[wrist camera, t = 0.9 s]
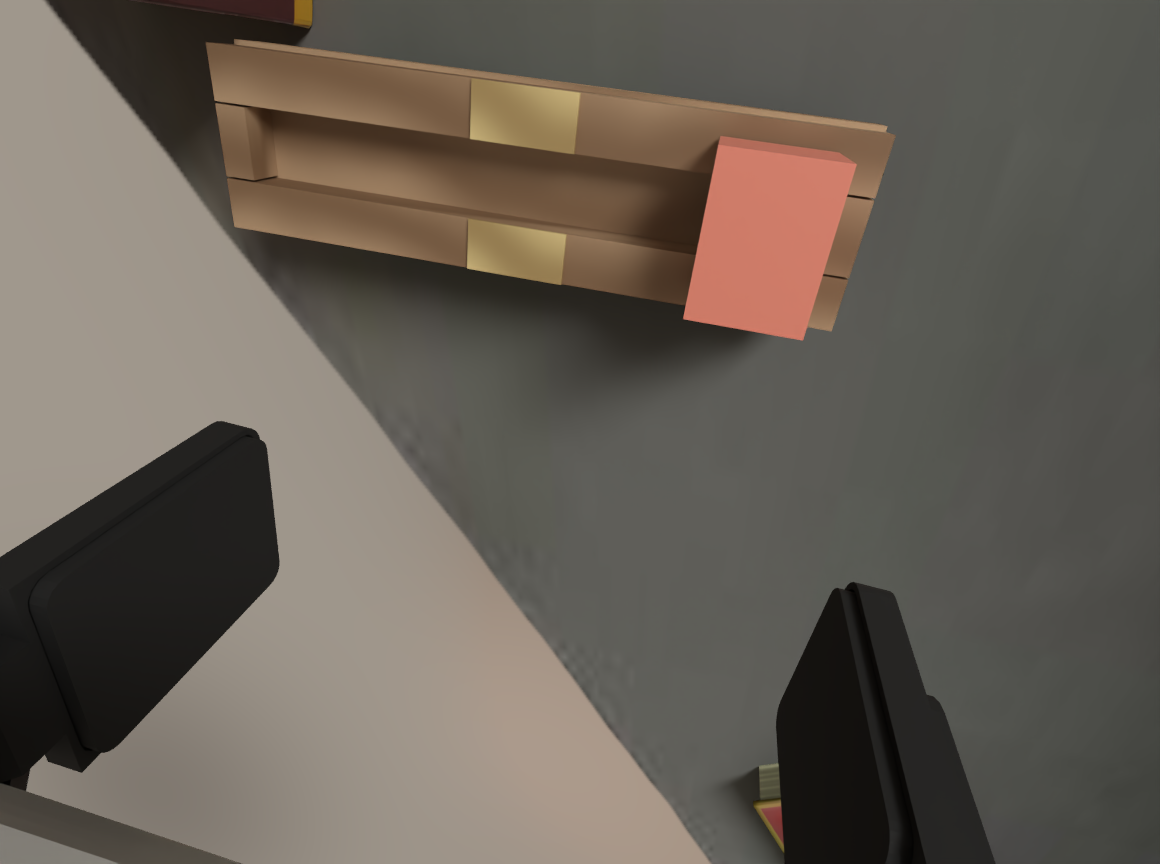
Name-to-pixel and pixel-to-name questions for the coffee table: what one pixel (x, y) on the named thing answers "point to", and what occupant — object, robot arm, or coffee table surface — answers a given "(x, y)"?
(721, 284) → the block
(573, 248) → the beam
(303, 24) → the supplement box
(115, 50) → the coffee table surface
